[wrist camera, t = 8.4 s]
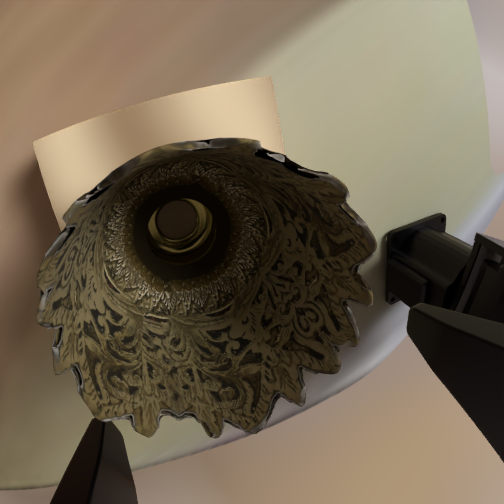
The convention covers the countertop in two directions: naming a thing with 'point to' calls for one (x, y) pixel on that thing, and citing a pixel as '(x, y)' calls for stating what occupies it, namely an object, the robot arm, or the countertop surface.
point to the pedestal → (155, 140)
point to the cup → (204, 286)
